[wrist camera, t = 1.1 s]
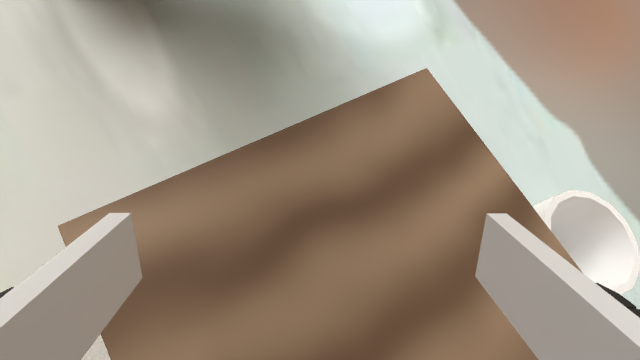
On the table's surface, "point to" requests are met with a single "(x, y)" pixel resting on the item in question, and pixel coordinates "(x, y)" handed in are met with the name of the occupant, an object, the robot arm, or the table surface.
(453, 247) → the stool
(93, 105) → the table surface
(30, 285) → the robot arm
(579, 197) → the foam cup
